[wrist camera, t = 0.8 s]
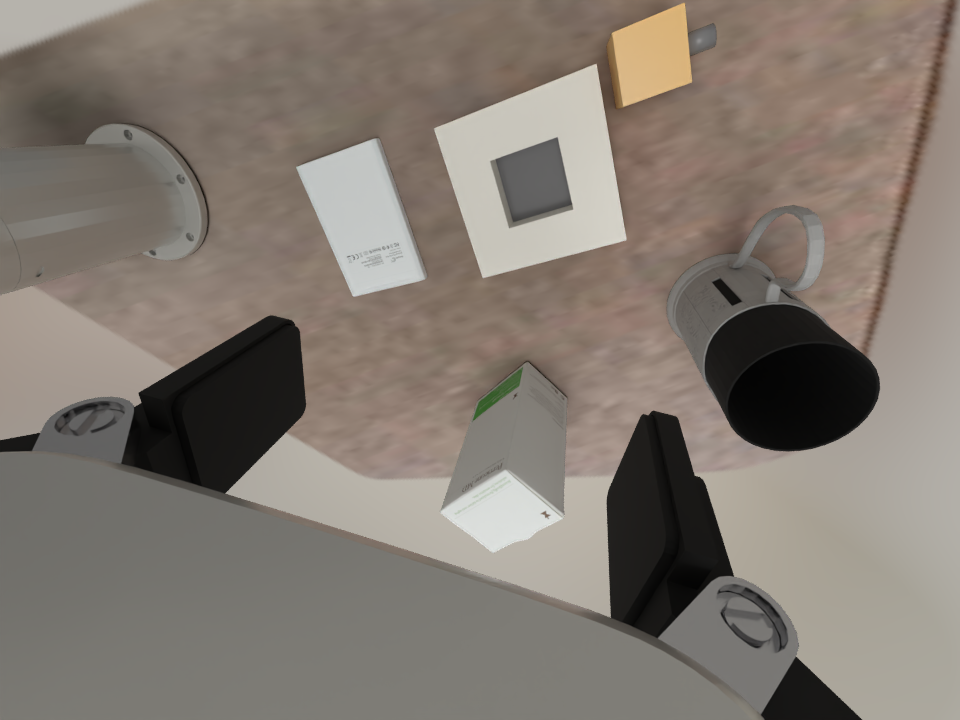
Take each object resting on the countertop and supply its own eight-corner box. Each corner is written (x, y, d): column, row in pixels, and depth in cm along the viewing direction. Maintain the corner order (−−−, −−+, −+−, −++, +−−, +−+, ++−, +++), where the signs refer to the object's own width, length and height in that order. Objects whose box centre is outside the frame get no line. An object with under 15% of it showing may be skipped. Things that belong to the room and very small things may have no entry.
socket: (488, 268, 39) (482, 278, 37) (444, 128, 34) (433, 128, 32) (622, 231, 35) (626, 240, 33) (594, 68, 30) (596, 63, 28)
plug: (616, 109, 31) (623, 107, 27) (606, 47, 30) (611, 32, 25) (698, 79, 30) (721, 71, 25) (692, 11, 28) (716, -11, 23)
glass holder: (664, 350, 40) (707, 458, 27) (672, 191, 33) (733, 234, 20) (769, 345, 38) (870, 460, 25) (800, 174, 31) (957, 209, 18)
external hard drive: (382, 137, 36) (429, 275, 41) (304, 165, 39) (358, 292, 44) (374, 138, 35) (424, 280, 40) (294, 167, 37) (351, 298, 42)
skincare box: (528, 358, 43) (507, 464, 30) (572, 400, 44) (570, 519, 31) (474, 402, 47) (434, 512, 34) (515, 439, 48) (493, 559, 35)
